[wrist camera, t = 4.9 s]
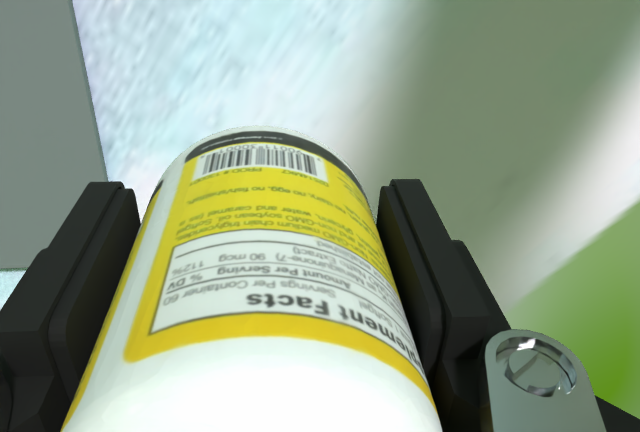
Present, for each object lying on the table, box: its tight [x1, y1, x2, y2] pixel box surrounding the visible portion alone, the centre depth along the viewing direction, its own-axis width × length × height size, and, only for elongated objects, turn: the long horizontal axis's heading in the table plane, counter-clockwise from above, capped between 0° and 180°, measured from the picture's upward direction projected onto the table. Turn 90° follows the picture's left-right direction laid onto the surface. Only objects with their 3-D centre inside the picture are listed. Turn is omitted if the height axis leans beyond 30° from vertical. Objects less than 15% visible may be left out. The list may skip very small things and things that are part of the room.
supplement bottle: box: [60, 126, 442, 432], centre depth 8 cm, size 5×5×8 cm
